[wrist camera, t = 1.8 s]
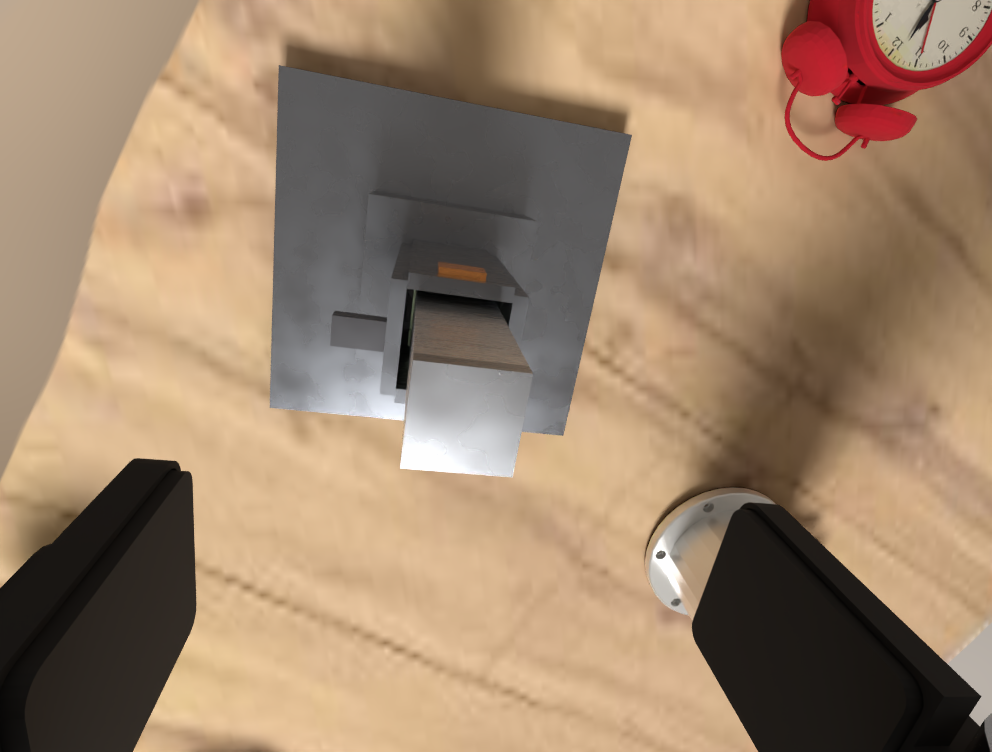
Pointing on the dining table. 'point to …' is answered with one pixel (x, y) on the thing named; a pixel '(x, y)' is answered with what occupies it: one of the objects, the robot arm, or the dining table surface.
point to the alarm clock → (881, 58)
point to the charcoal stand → (429, 237)
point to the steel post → (463, 387)
